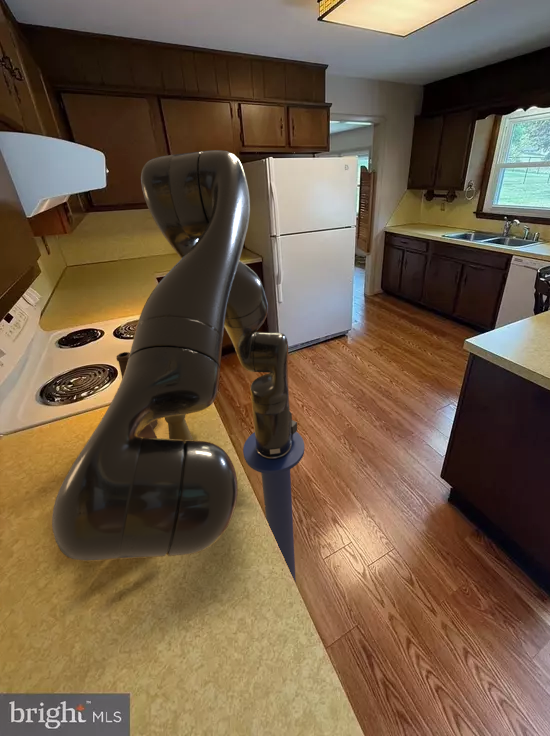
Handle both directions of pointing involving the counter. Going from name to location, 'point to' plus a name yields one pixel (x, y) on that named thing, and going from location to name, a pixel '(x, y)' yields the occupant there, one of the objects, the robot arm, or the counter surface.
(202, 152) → the robot arm
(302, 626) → the counter surface
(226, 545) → the counter surface
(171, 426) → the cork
